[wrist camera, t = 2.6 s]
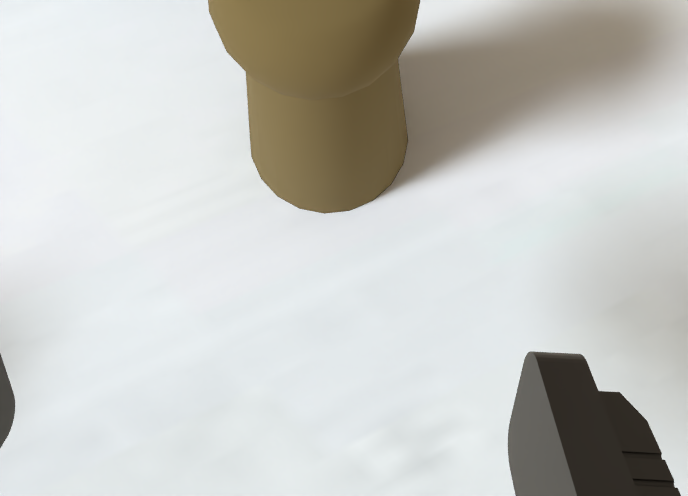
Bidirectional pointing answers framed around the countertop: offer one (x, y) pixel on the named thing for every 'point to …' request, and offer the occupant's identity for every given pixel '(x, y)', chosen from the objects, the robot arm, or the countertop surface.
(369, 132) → the olive pawn figure
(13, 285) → the countertop surface
